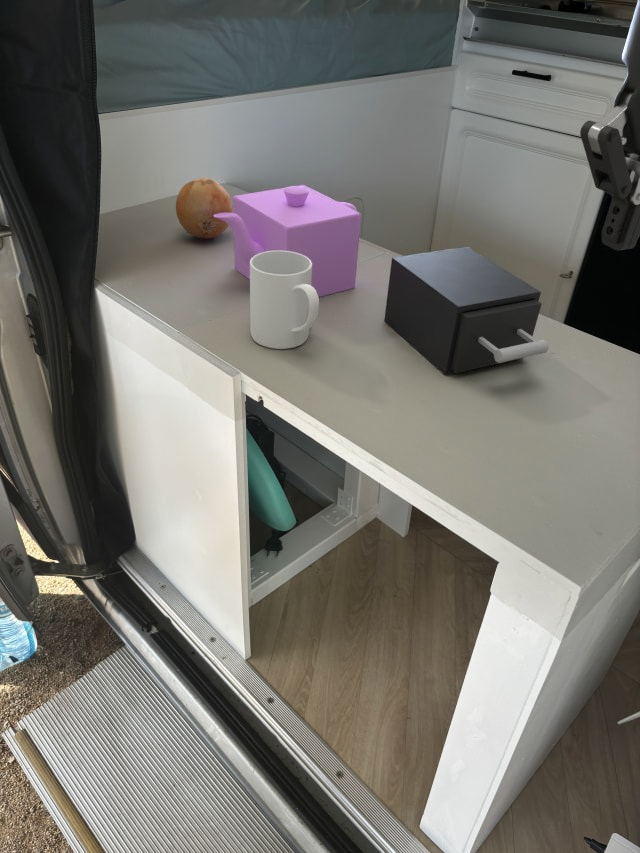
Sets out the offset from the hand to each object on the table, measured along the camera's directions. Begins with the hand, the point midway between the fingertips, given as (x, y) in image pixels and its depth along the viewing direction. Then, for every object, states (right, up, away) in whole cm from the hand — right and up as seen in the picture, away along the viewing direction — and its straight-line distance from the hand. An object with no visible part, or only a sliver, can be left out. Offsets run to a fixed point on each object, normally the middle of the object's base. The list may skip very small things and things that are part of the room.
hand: (617, 246), depth 53 cm
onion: (-44, +19, +64) cm, 80 cm away
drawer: (-4, -4, +35) cm, 35 cm away
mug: (-28, -3, +35) cm, 45 cm away
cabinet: (-6, -2, +38) cm, 39 cm away
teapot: (-29, +9, +51) cm, 59 cm away
